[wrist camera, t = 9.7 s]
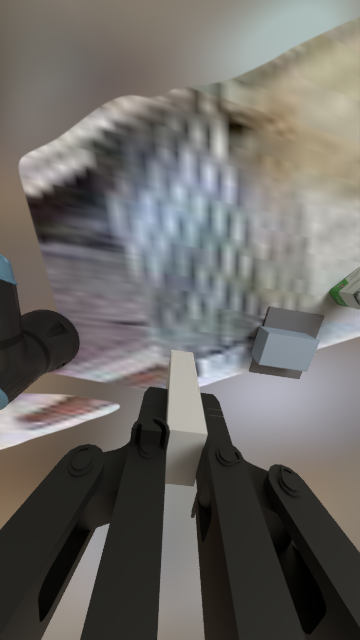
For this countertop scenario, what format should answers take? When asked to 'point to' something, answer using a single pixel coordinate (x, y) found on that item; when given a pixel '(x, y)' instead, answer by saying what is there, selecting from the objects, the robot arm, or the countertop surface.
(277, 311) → the mat
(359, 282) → the ink box
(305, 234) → the countertop surface
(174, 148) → the countertop surface
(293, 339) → the block
